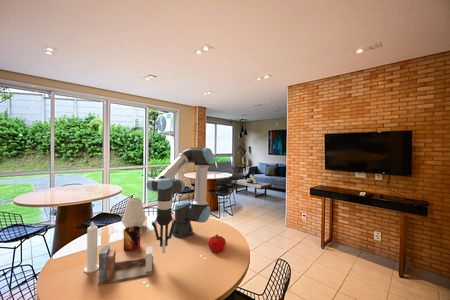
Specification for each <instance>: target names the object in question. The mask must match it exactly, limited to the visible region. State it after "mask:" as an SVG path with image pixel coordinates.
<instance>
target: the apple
mask: <svg viewBox="0 0 450 300" xmlns="http://www.w3.org/2000/svg"><path fill="white" fill-rule="evenodd" d="M207 245H208V248H209V250H211V252H213V253H215V252H216V253H217V254H218V252H219V253H221V252H223V251H224V249H225V246H226V238H224V237H223V236H221V235H219V234H216V235H214V236H211V237H210V238H209V240H208V243H207Z"/></svg>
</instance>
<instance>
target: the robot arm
mask: <svg viewBox="0 0 450 300" xmlns="http://www.w3.org/2000/svg"><path fill="white" fill-rule="evenodd" d="M213 162H214V153H213V151H212V149H211V148H209V147H188V148H186V149H184V150H183V151H181V152H180V153H178V154H177V156H176V158H175V159H174V160H173V161H172V162H171V163H170V164H168V166H167V167H165V169H164V170H162V172H160V174H158V175H157V176H156V177H155V178H154V177H153V178H149V179H148V180H147V182H146V189H147V190H148V191H151V192H157V199H156V201H157V204H156V208H157V209H156V218H155V220H153V221H151V225H152V227H153V230H154V233H155V237H156V241H159V247H161V249H162V250H161V253H162V254H166V247H167V246H168V241H169V240H170V239H171V238H172V236H173V237H175V238H188V237H189V236H191V235H192V234H193V233H194V232H193V230H194V229H193V226H192V223H191V222H196V223H203V224H204V223H206V222H207V221H208V220H209V219H210V218H209V217H210V215H211V207H210V206H209V203H208V202H207V190H208V189H207V188H208V187H207V186H208V169H209V167H211V165H212V164H213ZM188 164H194V167H195V181H194V199H193V201H192V202H191V201H188V200H187V201H184V200H183V201H179V202H177V203H176V204H175V205H174V218H173V216H172V215H173V213H172V212H173V208H172V207H173V195H175V194H176V195H177V194H179V193H181V192H183V191H184V190H185V189H186V188H185V187H186V184H185V182H184V181H183V180H182V179H173V178H174V177H175V176H176V175H177V174H178V173H179V172H180V171H181V170H182V168H184V166H185V167H186V166H187V165H188ZM157 224H158V225H159V229H160V230H159V231H160V232H159V231H158V226H157ZM170 224H171V226H170V229H169V225H170ZM164 228H165V229H164ZM164 232H165V233H164ZM163 234H165V235H163ZM163 237H164V238H163Z"/></svg>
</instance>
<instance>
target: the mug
mask: <svg viewBox="0 0 450 300" xmlns="http://www.w3.org/2000/svg"><path fill="white" fill-rule="evenodd" d="M123 251H124V252H129V253H130V252H131V253H132V252H135V251H138V252H141V228H140V227H139V226H131V227H127V228H125V227H124V229H123Z"/></svg>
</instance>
